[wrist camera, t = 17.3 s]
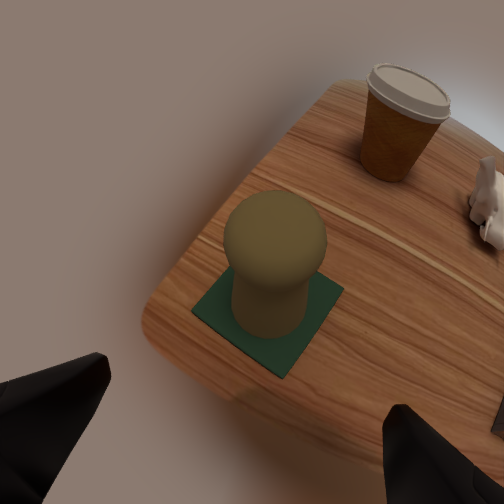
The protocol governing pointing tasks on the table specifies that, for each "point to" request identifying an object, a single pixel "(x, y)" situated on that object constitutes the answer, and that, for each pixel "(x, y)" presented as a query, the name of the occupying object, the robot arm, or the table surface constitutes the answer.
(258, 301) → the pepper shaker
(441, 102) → the disposable coffee cup
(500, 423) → the holder
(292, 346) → the coaster
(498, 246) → the elephant figurine
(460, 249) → the table surface
